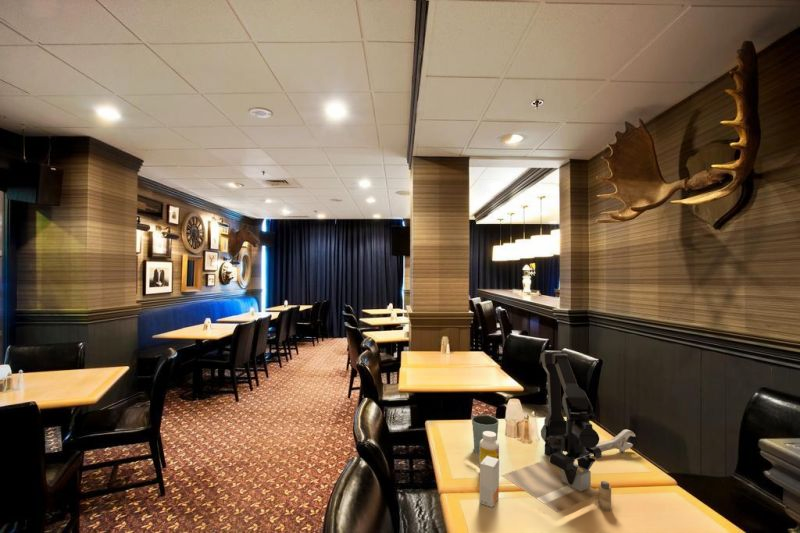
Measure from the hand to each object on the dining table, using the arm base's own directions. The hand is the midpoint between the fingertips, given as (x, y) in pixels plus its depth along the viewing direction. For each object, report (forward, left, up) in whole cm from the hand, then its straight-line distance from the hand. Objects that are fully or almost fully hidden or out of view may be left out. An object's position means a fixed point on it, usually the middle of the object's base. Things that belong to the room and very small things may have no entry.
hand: (575, 482), depth 121 cm
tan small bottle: (+1, +10, -2) cm, 11 cm away
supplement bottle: (+17, -22, -2) cm, 28 cm away
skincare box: (+29, -9, -2) cm, 30 cm away
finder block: (0, 0, -1) cm, 1 cm away
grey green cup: (+8, -34, -2) cm, 35 cm away
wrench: (-30, -10, -3) cm, 31 cm away
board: (+7, -5, -2) cm, 9 cm away
